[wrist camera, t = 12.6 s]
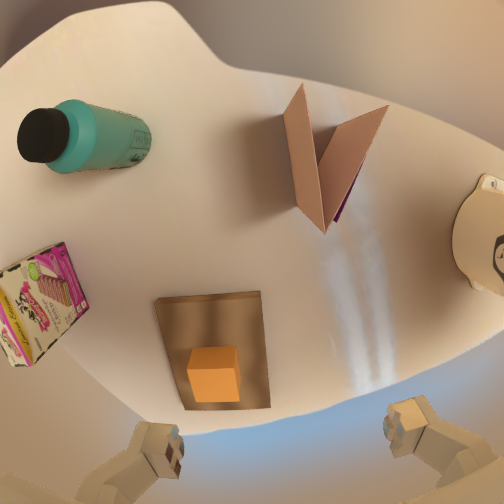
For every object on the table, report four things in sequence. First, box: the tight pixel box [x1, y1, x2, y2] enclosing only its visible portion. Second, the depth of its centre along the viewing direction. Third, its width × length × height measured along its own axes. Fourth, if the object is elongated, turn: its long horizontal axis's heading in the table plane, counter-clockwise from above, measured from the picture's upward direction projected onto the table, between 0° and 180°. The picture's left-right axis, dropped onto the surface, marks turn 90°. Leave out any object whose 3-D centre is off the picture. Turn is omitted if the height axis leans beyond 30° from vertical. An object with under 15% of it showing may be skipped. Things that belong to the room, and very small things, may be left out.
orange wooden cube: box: [187, 346, 241, 402], centre depth 38 cm, size 6×6×5 cm
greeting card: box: [283, 83, 389, 234], centre depth 27 cm, size 11×7×15 cm, turn 154°
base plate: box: [155, 291, 271, 410], centre depth 42 cm, size 14×20×2 cm
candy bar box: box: [0, 242, 89, 367], centre depth 32 cm, size 11×5×16 cm, turn 14°
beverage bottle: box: [17, 100, 152, 174], centre depth 25 cm, size 6×7×20 cm
